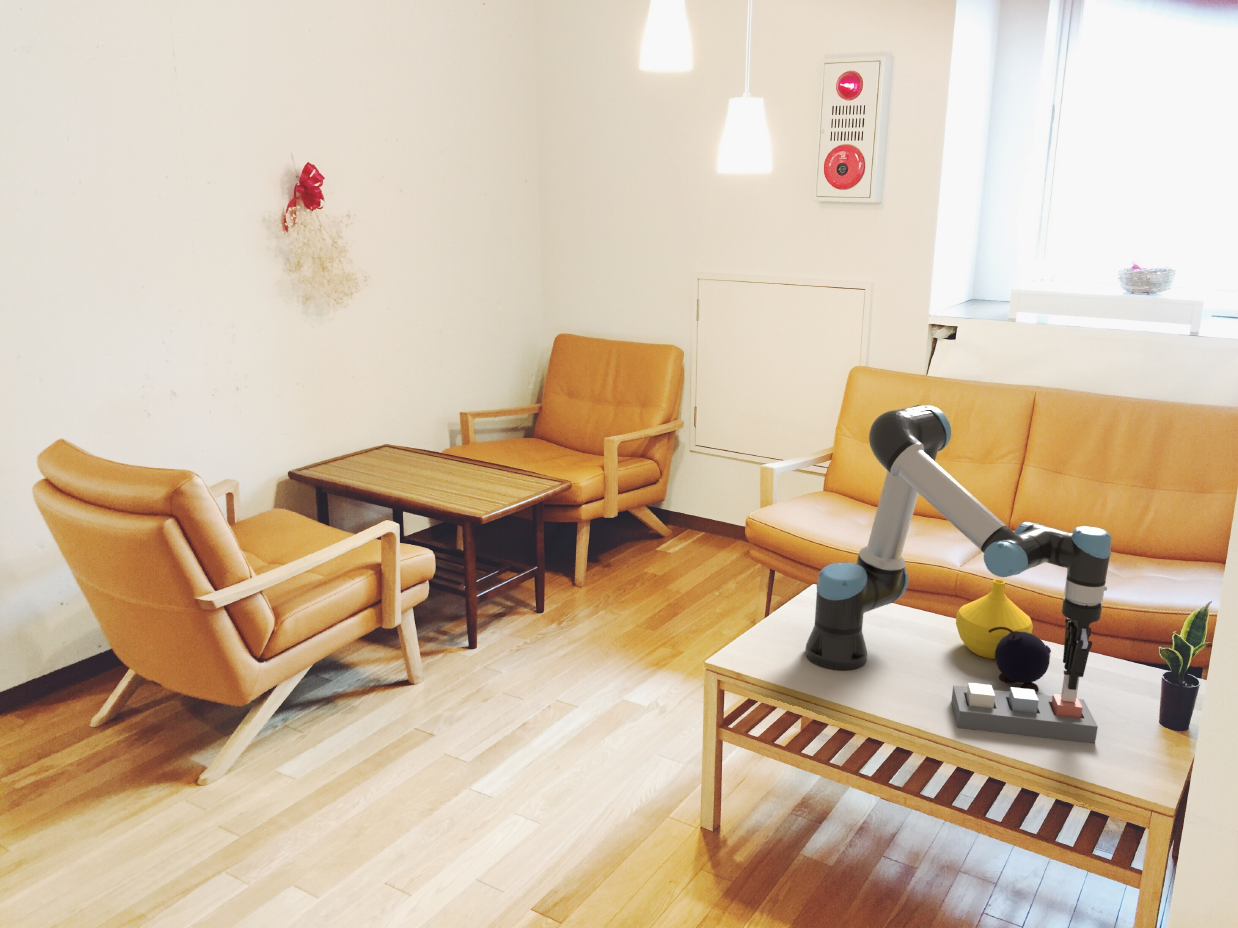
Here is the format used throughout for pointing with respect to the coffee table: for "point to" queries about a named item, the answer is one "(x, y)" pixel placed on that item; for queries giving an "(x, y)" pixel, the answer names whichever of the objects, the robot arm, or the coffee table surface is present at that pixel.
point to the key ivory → (980, 695)
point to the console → (1023, 718)
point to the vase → (990, 621)
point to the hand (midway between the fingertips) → (1068, 699)
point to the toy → (1021, 658)
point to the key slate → (1023, 700)
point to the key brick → (1066, 707)
